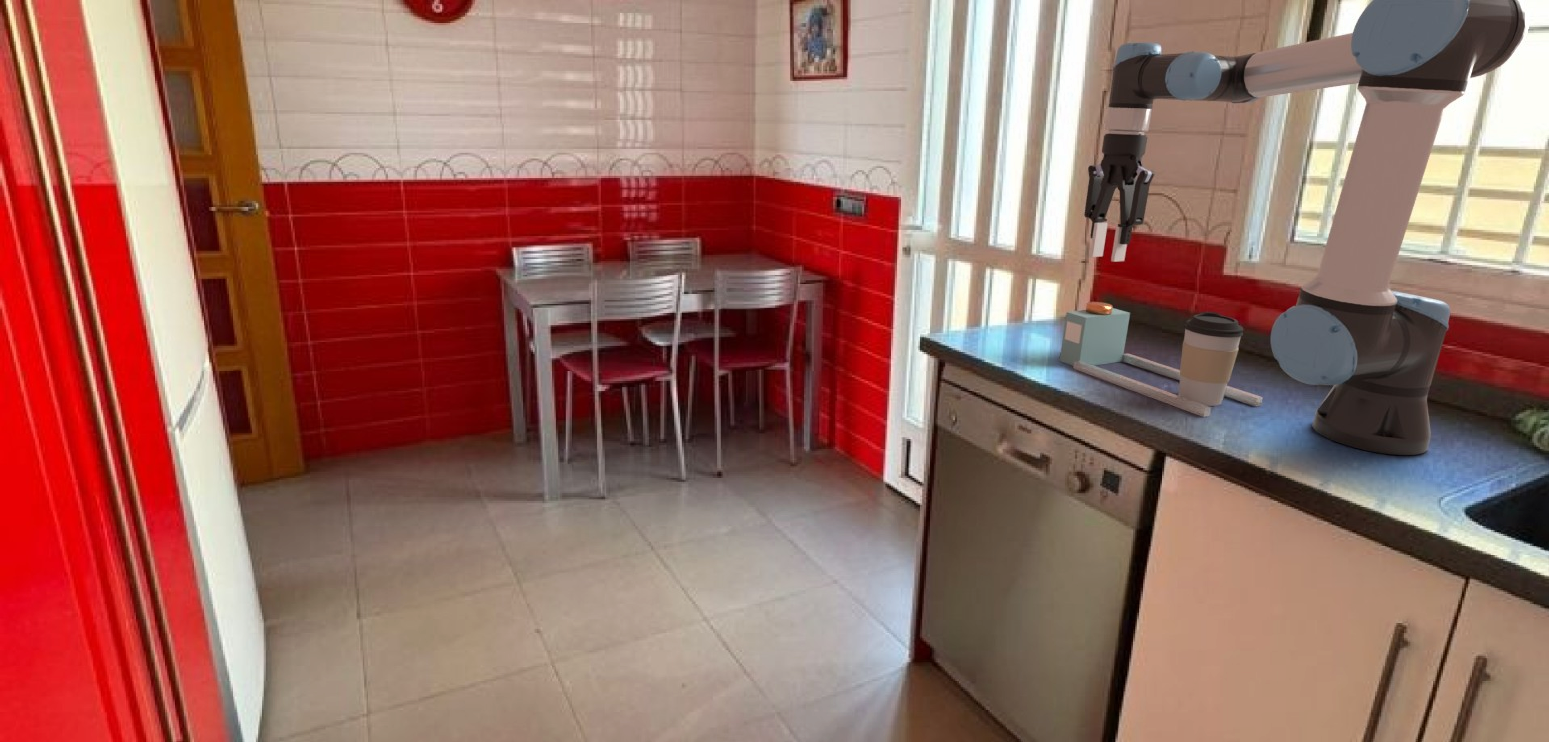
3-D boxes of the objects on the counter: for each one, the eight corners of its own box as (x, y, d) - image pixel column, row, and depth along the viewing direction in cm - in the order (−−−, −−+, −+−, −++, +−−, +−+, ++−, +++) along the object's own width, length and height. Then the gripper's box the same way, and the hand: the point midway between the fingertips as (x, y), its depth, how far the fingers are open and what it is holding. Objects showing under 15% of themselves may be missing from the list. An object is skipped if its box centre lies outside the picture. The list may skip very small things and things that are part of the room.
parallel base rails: (1260, 405, 145) (1262, 397, 145) (1203, 417, 139) (1205, 408, 138) (1127, 360, 169) (1128, 353, 169) (1073, 368, 163) (1074, 361, 162)
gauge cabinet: (1122, 361, 169) (1130, 312, 166) (1077, 367, 163) (1085, 317, 160) (1102, 354, 173) (1110, 307, 170) (1058, 360, 168) (1065, 312, 165)
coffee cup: (1235, 410, 143) (1254, 324, 138) (1179, 405, 144) (1195, 320, 139) (1218, 393, 151) (1235, 312, 147) (1165, 389, 152) (1180, 308, 148)
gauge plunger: (1113, 338, 166) (1118, 306, 164) (1095, 340, 164) (1100, 308, 162) (1094, 332, 170) (1098, 301, 168) (1076, 334, 168) (1081, 303, 166)
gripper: (1181, 135, 149) (1158, 265, 156) (1103, 131, 164) (1085, 250, 171) (1151, 135, 146) (1130, 267, 153) (1075, 130, 161) (1058, 252, 168)
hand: (1106, 258), depth 162 cm, fingers open, 4 cm apart
